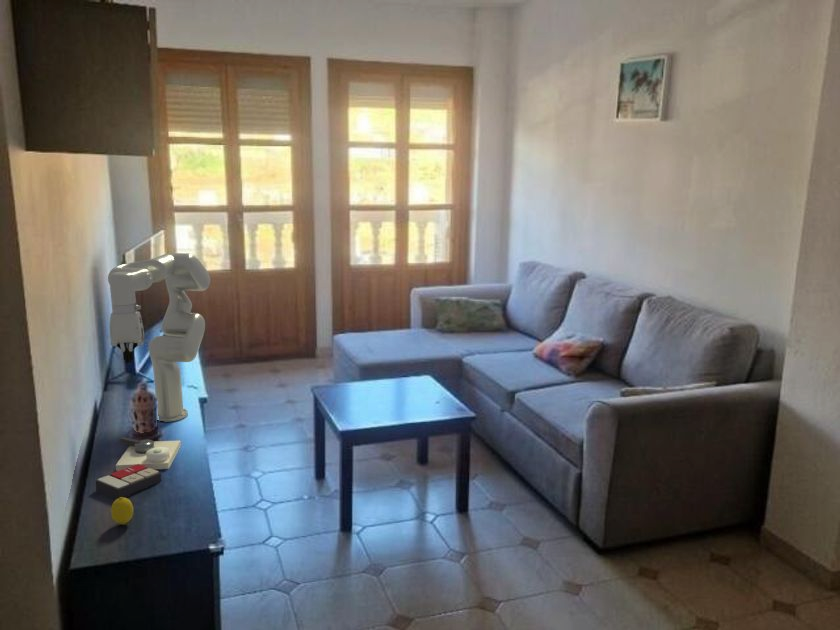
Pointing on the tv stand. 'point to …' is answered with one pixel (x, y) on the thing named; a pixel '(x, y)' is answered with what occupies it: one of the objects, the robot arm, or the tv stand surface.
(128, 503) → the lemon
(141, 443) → the gray scoop
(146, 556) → the tv stand surface
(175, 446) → the base
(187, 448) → the tv stand surface
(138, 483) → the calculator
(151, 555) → the tv stand surface
